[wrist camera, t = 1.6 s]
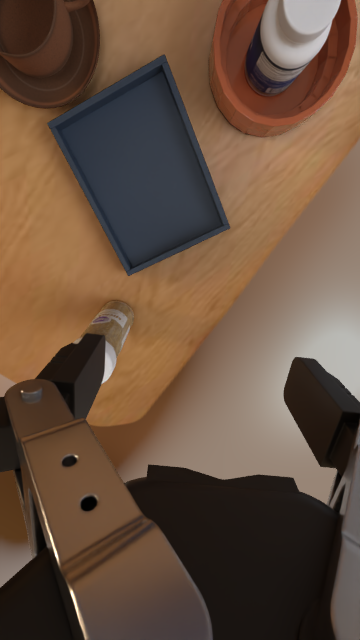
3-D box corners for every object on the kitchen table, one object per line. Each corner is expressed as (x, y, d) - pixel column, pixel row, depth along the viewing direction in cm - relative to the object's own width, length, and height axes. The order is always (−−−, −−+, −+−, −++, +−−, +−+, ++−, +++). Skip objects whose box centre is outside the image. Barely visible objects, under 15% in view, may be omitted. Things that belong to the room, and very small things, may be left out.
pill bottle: (263, 16, 27) (306, -84, 18) (308, 51, 28) (371, -27, 19) (233, 78, 29) (257, 16, 20) (276, 109, 30) (319, 63, 20)
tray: (55, 128, 30) (46, 123, 29) (165, 64, 29) (164, 53, 27) (130, 272, 36) (128, 276, 34) (227, 227, 34) (230, 228, 32)
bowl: (189, 28, 28) (191, -5, 23) (312, -45, 26) (337, -95, 22) (234, 158, 32) (242, 150, 27) (343, 102, 30) (370, 84, 25)
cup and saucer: (41, -82, 25) (-1, -170, 19) (129, 57, 28) (116, 18, 23) (-46, 24, 27) (-106, -26, 22) (44, 140, 31) (13, 123, 25)
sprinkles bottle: (124, 294, 37) (96, 336, 24) (140, 324, 39) (121, 378, 26) (94, 307, 38) (51, 355, 25) (110, 336, 39) (78, 395, 27)
